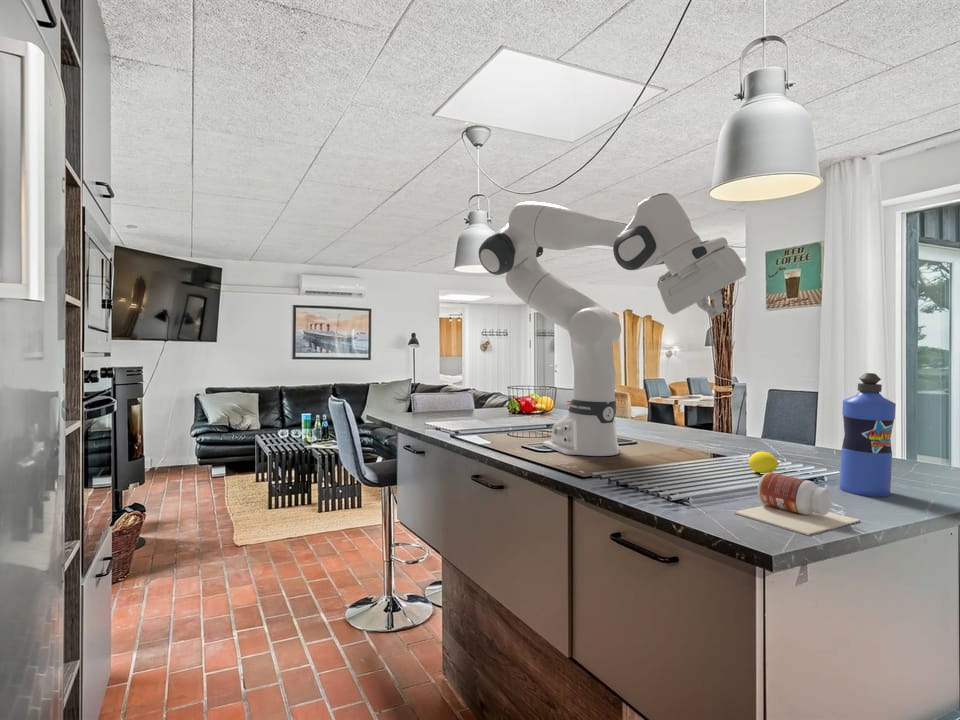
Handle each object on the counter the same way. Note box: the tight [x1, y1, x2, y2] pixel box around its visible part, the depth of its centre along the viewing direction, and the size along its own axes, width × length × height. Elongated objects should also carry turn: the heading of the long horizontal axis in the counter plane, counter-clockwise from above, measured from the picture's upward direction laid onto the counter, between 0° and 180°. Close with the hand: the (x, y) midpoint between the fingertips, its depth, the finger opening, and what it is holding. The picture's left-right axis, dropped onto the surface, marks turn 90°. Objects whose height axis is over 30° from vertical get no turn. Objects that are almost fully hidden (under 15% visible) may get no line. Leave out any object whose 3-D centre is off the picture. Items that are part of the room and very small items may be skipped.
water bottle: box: [839, 372, 897, 498], centre depth 126 cm, size 9×9×25 cm
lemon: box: [748, 451, 779, 473], centre depth 141 cm, size 7×5×5 cm
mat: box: [733, 504, 861, 536], centre depth 107 cm, size 14×16×1 cm
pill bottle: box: [756, 472, 833, 515], centre depth 109 cm, size 6×6×11 cm
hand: (717, 315), depth 130 cm, fingers closed
